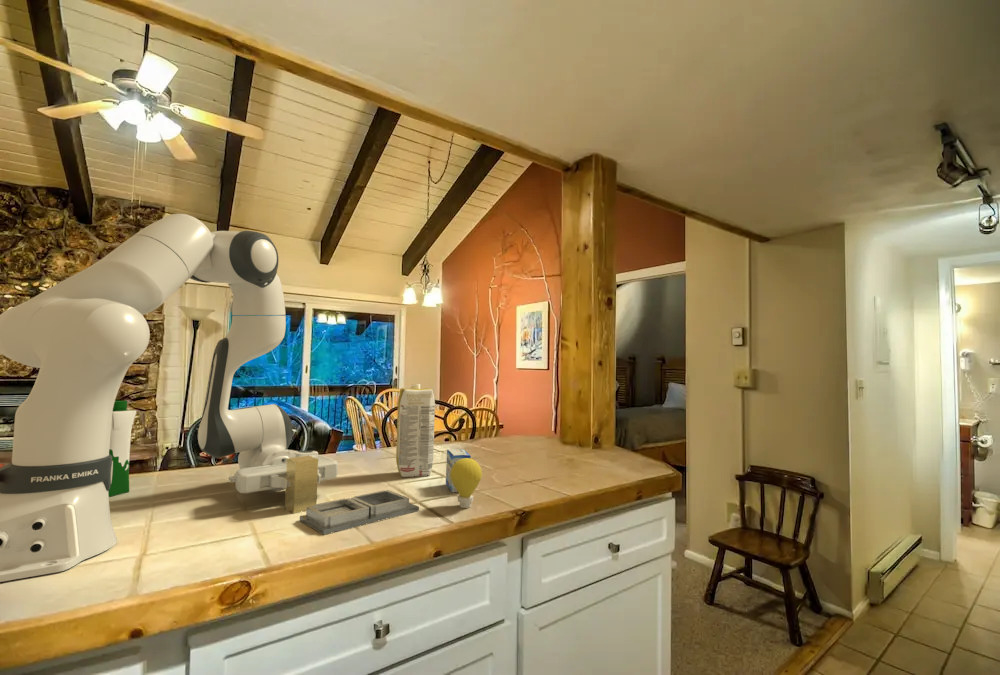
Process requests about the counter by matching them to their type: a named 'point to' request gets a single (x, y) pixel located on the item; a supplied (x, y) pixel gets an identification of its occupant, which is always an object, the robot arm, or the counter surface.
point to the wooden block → (301, 483)
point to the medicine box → (453, 457)
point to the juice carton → (415, 431)
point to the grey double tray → (356, 511)
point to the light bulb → (465, 479)
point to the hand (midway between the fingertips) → (303, 481)
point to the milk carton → (120, 447)
